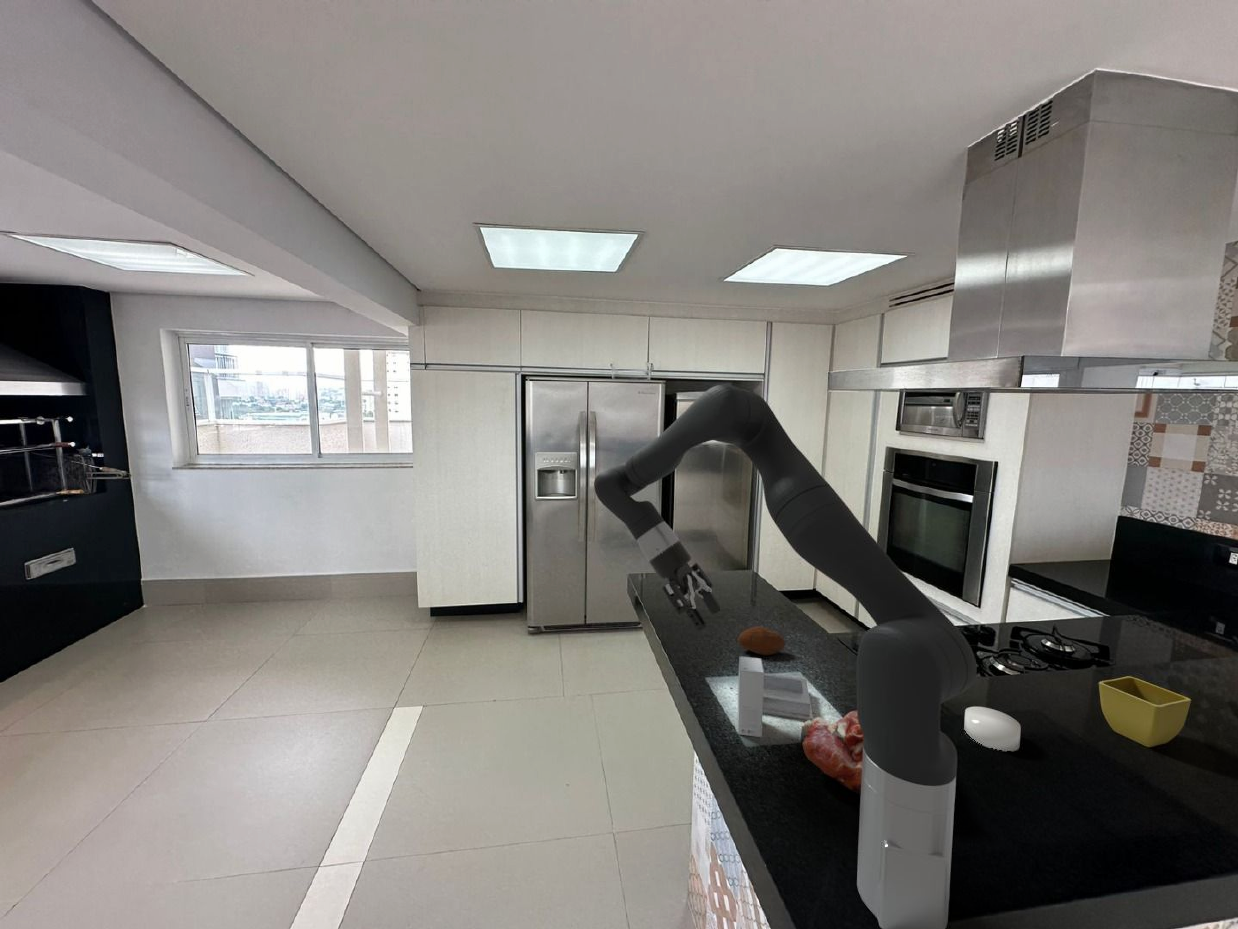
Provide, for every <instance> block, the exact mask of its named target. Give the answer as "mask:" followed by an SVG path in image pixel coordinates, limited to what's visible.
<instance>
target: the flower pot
mask: <svg viewBox="0 0 1238 929" xmlns="http://www.w3.org/2000/svg"><path fill="white" fill-rule="evenodd" d="M1098 690H1099V698H1100V706H1101V710H1102V713H1103V715H1104V718H1105V720H1106V722H1107V724H1108V725H1109V727H1110V728H1111V729H1112V730H1113V731H1114V732H1115V733H1117V734H1119V735H1121V736H1122V737H1123V736H1124V738H1128V739H1130V740H1132V741H1134V742H1136V743H1138V744H1141V745H1143V746H1144V747H1147V748H1151V747H1152V748H1153V747H1155V746H1156V747H1157V746H1159V745H1163V744H1167V743H1169V742H1170V741H1172V740H1173V739H1174V738H1175V737H1176V736H1177V735H1178V734H1179V733H1180V732H1181V730H1182V729H1183V727H1184V726H1185V724H1186V721H1187V716H1188V714H1189V713H1188V712H1189V710H1190V705H1191V703H1192V700H1191V698H1189V697H1187V696H1184V695H1182V694H1179V693H1176V692H1174V691H1171V690H1168V689H1166V688H1163V687H1161V686H1158V685H1155V684H1152V683H1150V682H1148V681H1144V680H1141V679H1140V678H1136V677H1133V676H1130V675H1129V676H1123V677H1119V678H1114V679H1107V680H1101V681H1099V682H1098Z"/></svg>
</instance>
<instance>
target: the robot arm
mask: <svg viewBox="0 0 1238 929" xmlns="http://www.w3.org/2000/svg"><path fill="white" fill-rule="evenodd" d="M711 441H715V442H719V443H724V444H730V445H734V446H737V447H738V448H739V449H740V450H741V451H742V452H743V453H744V454H745V455H746V457H747V458H748V459H749V460H750V462H752V464H753V465H754V467H755V468H756V470H757V471H758V473H759V474H760V477H761V481H762V486H763V495H764V499H765V500H764V501H765V505H766V508H767V511H768V513H769V516H770V518H771V519H772V521H773V522H774V524H775V525H776V527H777V528H778V530H779V531H780V532H781V534H782V535H783V537H784V539H785V540H786V542H788V544H789V545H790V547H791V548H792V549H793V551H794V552H796V554H798V556H799V557H801V558H802V559H803V560H804V561H805V562H807V563H808V564H810V565H811V566H812V567H813V568H815V569H816V570H818V571H819V572H820V573H822V574H823V575H824V576H825V577H827V578H829V579H830V580H832V581H834V582H835V583H836V584H838V585H839V586H840V587H842V588H843V589H845V590H846V591H847V592H848V593H849V594H851V596H853V597H854V598H855V600H856V601H857V602H859V603H860V605H861V606H862V607H863V608H864V610H865V611H866V612H867V613H868V615H869V616H870V617H871V619H872V621H874V623H875V624H876V625H874V626H872V627H871V628H869V629H868V630H867V631H866V632H865V633H864V635H863V636H862V637H861V639H860V642H859V646H858V650H857V655H856V656H857V657H856V711H857V717H858V721H859V725H860V728H861V731H862V733H863V760H862V779H861V795H860V799H859V800H860V803H859V821H858V822H859V823H858V824H859V826H858V828H859V829H858V844H857V845H858V846H857V849H858V850H857V852H858V853H857V873H856V875H857V877H856V886H857V891H858V893H859V896H860V898H861V900H862V902H863V903H864V904H865V906H866V907H867V908H868V909H869V910H870V912H871V913H872V914H873V915H874V917H875V918H877V922H878V925H879V927H880V928H881V929H946V928H947V925H948V919H949V908H950V907H949V906H950V905H949V904H950V903H949V902H950V888H951V887H950V885H951V884H950V883H951V869H952V867H951V866H952V851H953V850H952V848H953V834H954V833H953V831H954V819H955V818H954V816H955V815H954V813H955V799H956V786H957V782H956V781H957V774H958V773H957V772H958V771H957V769H958V752H957V748H956V746H955V744H954V743H953V741H952V740H951V739H950V737H949V736H947V735H946V734H945V733H944V732H942V731H941V711H942V710H941V709H942V708H941V706H942V703H944V702H947V701H949V700H951V699H953V698H955V697H957V696H959V695H961V694H963V693H965V692H966V691H968V690H969V689H970V688H971V687H972V686H973V685H974V683H975V681H976V678H977V673H978V671H977V661H976V657H975V654H974V652H973V649H972V647H971V645H970V643H969V641H968V640H967V639H966V637H965V636H964V634H963V633H962V632H961V631H960V630H959V628H958V627H957V626H956V625H955V624H954V623H953V622H952V621H951V620H950V619H949V618H948V616H946V615H945V614H944V613H943V612H942V610H940V609H939V607H938V606H936V604H934V603H933V602H932V601H931V600H930V599H929V598H928V597H927V596H926V595H925V594H924V592H922V591H921V590H920V589H919V588H918V587H917V586H916V585H915V584H914V583H913V582H912V581H911V580H910V579H909V578H908V577H907V576H906V575H905V573H903V572H902V570H901V569H900V568H899V567H898V566H897V565H896V563H895V562H894V561H893V560H892V559H891V558H890V556H889V555H888V554H887V553H886V552H885V550H884V549H883V548H882V547H881V545H880V544H879V543H878V542H877V541H876V540H875V538H874V537H873V536H872V534H870V533H869V531H867V529H866V528H865V527H864V525H862V523H861V522H860V521H859V520H858V518H857V517H856V516H855V514H854V513H853V511H852V510H851V509H850V508H849V506H848V505H847V504H846V503H845V501H843V499H842V498H841V496H839V494H838V493H837V492H836V490H835V489H834V488H833V487H832V486H831V485H830V483H829V482H828V481H827V480H826V479H825V478H824V477H823V475H821V474H820V473H819V472H820V471H818V470H817V469H816V467H815V466H814V465H813V464H812V463H811V461H810V460H809V459H808V458H807V456H805V455H804V453H803V452H802V451H801V450H800V449H799V448H798V447H797V446H796V444H794V442H793V441H792V440H791V438H790V436H789V435H788V433H787V432H786V431H785V428H783V425H782V424H781V423H780V421H779V419H778V417H777V416H776V414H775V413H774V411H773V409H772V408H771V407H770V405H769V404H768V403H767V402H766V400H765V399H764V398H763V397H762V396H761V395H759V394H758V393H756V392H755V391H754V392H753V391H751V390H747V389H744V388H741V387H737V386H734V385H730V384H726V383H725V384H717V385H714V386H712V387H710V388H709V389H707V390H706V391H705V392H704V393H702V394H701V395H700V396H699V397H698V398H696V400H695V401H694V402H692V404H690V406H689V407H688V408H686V410H685V411H684V412H683V413H682V414H680V416H678V418H677V419H675V421H674V422H673V423H671V425H670V426H668V427H667V428H666V429H665V430H664V431H663V432H662V433H661V434H660V435H658V436H657V437H656V438H654V439H653V440H652V441H650V442H649V443H647V444H645V445H644V446H643V447H641V448H639V449H638V450H637V451H635V452H634V453H632V454H631V455H630V456H629V457H628V458H627V460H626V461H624V462H622V463H620V464H618V465H615V466H613V467H611V468H609V469H607V470H603V471H602V472H600V473H599V474H597V475H596V477H595V479H594V482H593V488H594V493H595V495H596V497H597V499H598V500H599V502H601V504H602V505H603V506H604V507H606V509H608V510H609V511H610V513H612V514H613V515H614V516H615V517H617V518H618V519H619V520H620V521H621V522H623V524H625V526H626V527H627V529H628V530H629V532H630V533H631V535H632V536H633V538H634V539H635V541H636V542H637V544H638V547H639V548H640V550H641V552H642V554H643V555H644V557H645V558H646V560H647V561H648V563H649V564H650V566H651V567H652V568H653V570H654V571H655V573H656V574H657V576H658V577H659V579H661V580H664V579H665V578H666V579H667V580H668V583H667V584H665V585H664V586H663V587H662V590H663V592H664V594H665V596H667V598H668V600H669V601H670V603H671V605H672V606H673V608H674V610H675V611H676V613H677V614H678V615H679V616H682V615H683V614H684V615H687V616H688V618H689V620H690V621H691V623H692V624H693V625H694V627H695V628H696V630H697V631H702V630H704V629H705V628H707V626H708V622H707V620H706V618H705V617H704V616H703V614H702V613H701V611H700V610H699V609H698V607H697V606H696V603H695V597H696V595H698V597H700V598H702V601H703V603H704V604H705V606H706V607H707V608H708V610H709V611H710V613H711V614H712V615H716V614H718V613H719V612H720V611H722V608H723V607H722V606H721V604H720V603H719V601H718V600H717V599H716V597H715V596H714V594H713V590H712V588H713V587H714V585H713V583H712V581H711V580H710V578H708V576H707V574H705V571H704V570H703V569H702V567H700V565H699V564H698V562H695V563H693V564H691V565H689V564H688V563H689V562H690V561H691V560H692V556H691V555H690V553H689V552H688V550H687V549H686V548H685V546H684V544H682V542H681V541H680V539H679V537H678V536H677V535H676V533H675V531H674V530H673V529H672V528H671V527H670V525H669V524H668V523H666V521H665V520H664V518H663V516H661V514H660V512H659V511H658V509H657V507H655V505H654V504H653V503H652V501H649V500H642V501H639V500H636V499H634V498H633V497H632V496H634V495H636V494H638V493H639V492H641V491H642V490H644V489H646V488H647V487H648V486H649V485H652V484H654V483H656V482H659V481H660V480H661V479H663V478H665V477H666V476H668V475H670V474H671V473H673V472H674V471H675V470H676V469H677V468H678V467H679V465H680V464H681V462H682V460H683V458H684V456H685V455H686V453H687V452H688V451H689V450H691V449H693V448H694V447H697V446H699V445H702V444H705V443H708V442H711ZM695 594H696V595H695Z"/></svg>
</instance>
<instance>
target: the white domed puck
mask: <svg viewBox="0 0 1238 929" xmlns="http://www.w3.org/2000/svg"><path fill="white" fill-rule="evenodd" d="M963 727H964V728H963V730H965V731H966V733H967V734H968V735H969V736H970V737H971V738H972V739H974V740H975V741H976V742H975V741H974V740H973V741H974V742H975V743H977V742H978V743H977V744H979V743H980V744H979V745H981V744H982V745H981V746H983V747H985V748H989V749H991V748H993V749H992V750H995V749H997V750H996V751H999V750H1002V751H1001V752H1007V751H1011V752H1015V751H1018V750H1019V748H1020V745H1021V743H1020V742H1021V729H1022V727H1021V724H1020V723H1019V722H1018V720H1016V719H1014V718H1013V717H1012V716H1010V715H1009V714H1007V713H1004V712H1002V711H999V710H997V709H994V708H993V709H992V708H989V707H985V706H970V707H967V708H966V709H964V726H963ZM966 733H965V734H966ZM971 738H970V739H971ZM972 739H971V740H972Z"/></svg>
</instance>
